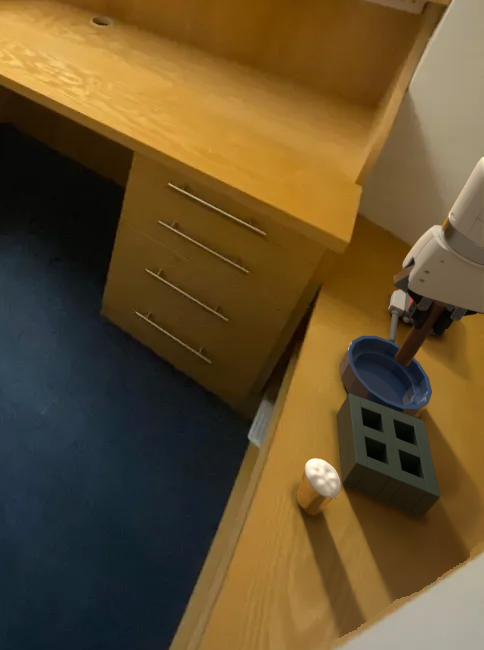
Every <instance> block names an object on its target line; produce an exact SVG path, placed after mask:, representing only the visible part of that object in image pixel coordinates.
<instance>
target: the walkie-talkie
mask: <svg viewBox="0 0 484 650" xmlns="http://www.w3.org/2000/svg"><path fill="white" fill-rule="evenodd" d="M412 302H413V300H412V298H411V297H410V296H409V294H408V293H407V292H404V291H402V290H401V289H397V290H394V291H393V293H392V294H391V296H390V301H389V306H388V312H390V313H391V321H390V329H389V336H388V340H390V341H392V342H393V343H395V344H396V342H397V340H396V339H397V334H398V333H397V331H398V323H399V318H401V320H403V322H404V323H406V324H407V323H409V324H411V325H413V321H412V318H409V315H408V309H409V307H410V305H411V304H412ZM428 335H435V336H437V337H439V336H438V335H436V334H434V331H433V328H432V330H431V331H430V333H429V334H428Z"/></svg>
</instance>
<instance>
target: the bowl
mask: <svg viewBox="0 0 484 650" xmlns="http://www.w3.org/2000/svg"><path fill="white" fill-rule="evenodd" d="M400 347H401V345H398V344H397V343H396V342H395V343H393V342H392V341H390V340H389V339H387V338H383V337H381V336H379V335H378V336H377V335H360V336H359V337H357V338H355V339H353V340H351V342H350V343H349V346H348V348H347V350H346V351H345V353H344V355H343V357H342V360H341V362H340V364H339V370H340V379H341V381H342V383H343V385H344V387H345V389H346V391H347V393H348V394H349V393H350V394H353V395H355V396H358V397H361V398H364V399H366V400H369V401H372V402H375V403H377V404H380V405H383V406H385V407H388V408H391V409H393V410H396V411H399V412H401V413H404V414H407V415H409V416H412V417H415V418H418V419H419V418H420V416H421V414H422V413H423V412H424V410H425V409H426V408H427V407H428V405H429V403H430V401H431V397H432V394H433V389H432V385H431V380H430V377H429V375H428V374H427V372H426V370H425V369H424V368H423V366H422V365H421V363H420V362H419V361H418V360H417V359H416V358H415V357H414V358H413V359H412V361H411V362H410V364H409V365H408V366H402V365H400V364H399V363H398V362H397V361H396V360H395V355H396V353H397V352H398V350H399V348H400Z"/></svg>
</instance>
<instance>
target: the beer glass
mask: <svg viewBox="0 0 484 650" xmlns="http://www.w3.org/2000/svg"><path fill="white" fill-rule="evenodd" d="M341 489H342V481H341V479H340V476H339V473H338V472H337V471H336V469H335V467H334V466H332V465H331V464H330V463H328V462H327V461H326V460H325V459H321V458H310V459H309V460H308V461H307V462H306V463H305V465H304V470H303V473H302V477H301V481H300V483H299V486H298V489H297V492H296V494H295V496H296V500H297V504H298V506H299V507H300V508H301V509H302V511H303V512H305V513H306V514H309V515H311V516H314V515H318V514H319V513H321V512H322V511H323V510H324V509H325V508H326V507H327V505H329V504H330V503H331V502H332V501H333V500H337V499H338V498H337V497H338V496H339V494H340V493H341Z"/></svg>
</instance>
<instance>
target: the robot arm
mask: <svg viewBox="0 0 484 650" xmlns="http://www.w3.org/2000/svg"><path fill="white" fill-rule="evenodd" d="M392 283H393V286H394V287H395V288H397V289H398V290H400V289H401V290H402V291H404V292H407V293H408V294H409V296H410V297H411V298H412V300H413V302H412V304H411V305H410V307H409V309H408V315H409V318H412V321H413V324H412V326H414V328H415V329H418V330H419V329H421V328H422V326H423V325H424V323H425V322H426V320H427V318H428V317H429V315H430V312H429V309H428V308H429V306H430V305H431V303H432V301H433V300H438V301H441V302H444V303H447V307H446V308H445V310H444V311H443V313H442V314H441V316H440V317H439V319H438V321H437V322H436V324H435V325H434V327H433V331H434V334H436V335H438V336H437V337H442V336H443V334H444V333H445V331H446V330H449V328H450V327H451V325H452V324H453V322H454V321H456V322H457V321H458V322H459V321H461V320H462V319H463V317H466V316H467V317H468V316H474V315H477V314H479V315H484V156H482V157H481V158H480V159H479V160H478V161H477V163H476V165H475V166H474V168H473V170H472V172H471V174H470V175H469V176H468V179H467V181H466V182H465V184H464V186H463V188H462V190H461V191H460V193H459V194H458V196H457V198H456V200H455V202H454V204H453V205H452V207H451V209H450V211H449V212H448V213H447V216H446V218H445V219H444V221H443V222H442V224H441V225H438V224H434V225H433V226H432V227H430V228H429V229H428V230H427V231H425V232H424V233H423V234H422V235H421V236H420V238H419V239H418V240H417V241H416V242H415V244H414V245H413V246H412V247H411V249H410V250H409V252H408V253H407V255H406V257H405V258H404V260H403V262H402V270H401V271H399V272H398V273H396V274H395V275H394V276H392ZM434 334H433V335H434ZM436 335H435V336H436Z"/></svg>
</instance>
